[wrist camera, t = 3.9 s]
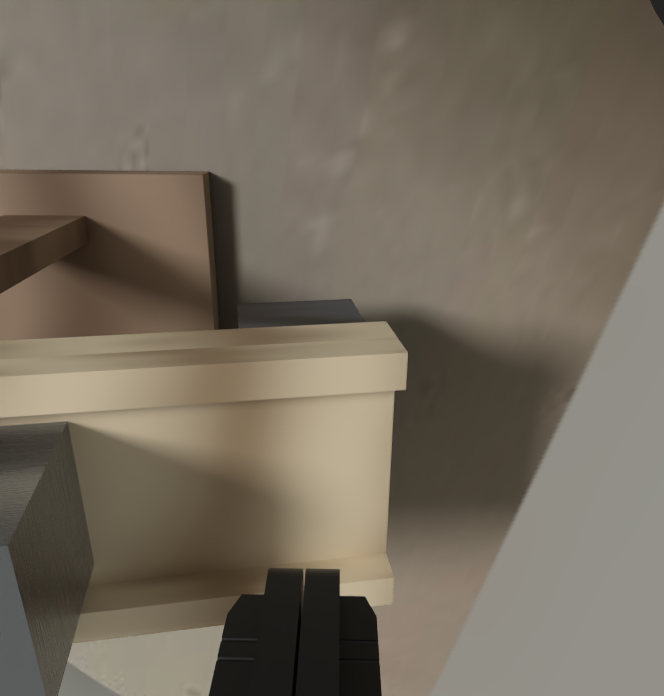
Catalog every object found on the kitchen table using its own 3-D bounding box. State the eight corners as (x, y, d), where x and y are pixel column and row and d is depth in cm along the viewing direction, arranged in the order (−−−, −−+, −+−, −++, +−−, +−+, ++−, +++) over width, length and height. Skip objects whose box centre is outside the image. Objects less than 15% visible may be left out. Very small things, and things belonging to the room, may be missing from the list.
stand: (-25, 478, 28) (-219, 679, 19) (-109, 168, 23) (-442, 224, 13) (230, 483, 28) (169, 689, 18) (208, 171, 23) (105, 230, 13)
